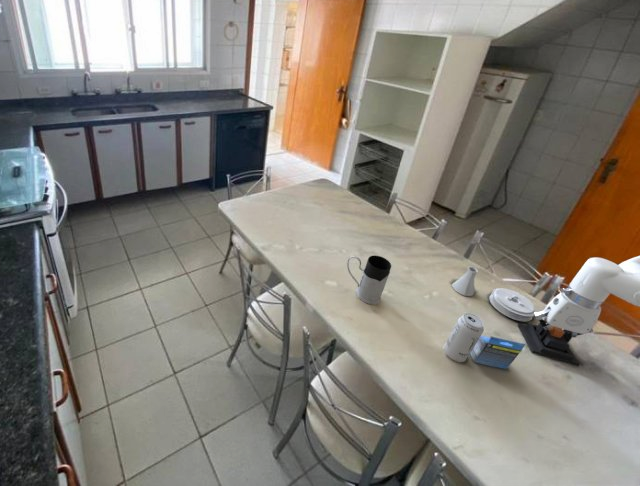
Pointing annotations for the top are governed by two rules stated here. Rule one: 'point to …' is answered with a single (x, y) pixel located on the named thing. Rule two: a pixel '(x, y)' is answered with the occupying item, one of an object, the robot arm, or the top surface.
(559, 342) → the black and orange block
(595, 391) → the top surface
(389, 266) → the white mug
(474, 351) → the label tape box
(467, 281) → the flask
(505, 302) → the lid
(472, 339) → the energy drink can
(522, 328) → the black shallow tray
